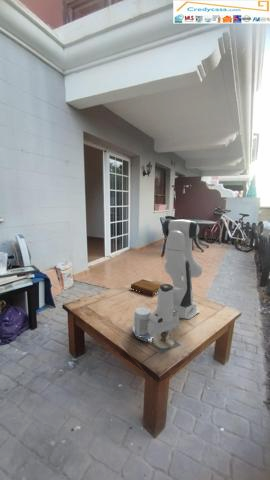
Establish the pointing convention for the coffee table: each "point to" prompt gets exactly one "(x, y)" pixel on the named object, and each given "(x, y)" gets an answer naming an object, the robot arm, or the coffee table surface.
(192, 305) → the robot arm
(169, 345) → the lid
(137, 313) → the supplement tub
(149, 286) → the diary
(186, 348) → the coffee table surface
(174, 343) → the mat
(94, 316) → the coffee table surface
